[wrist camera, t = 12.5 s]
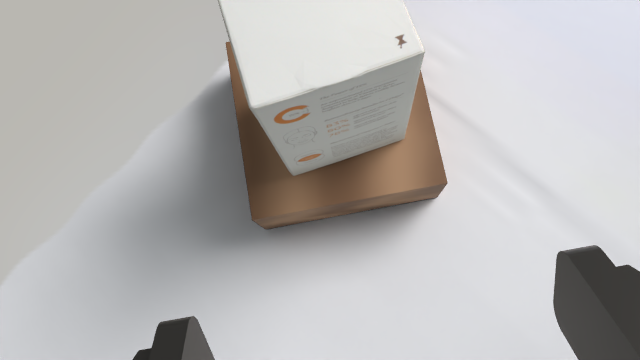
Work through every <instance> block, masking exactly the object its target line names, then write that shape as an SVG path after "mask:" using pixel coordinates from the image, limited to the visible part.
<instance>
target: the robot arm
mask: <svg viewBox="0 0 640 360" xmlns="http://www.w3.org/2000/svg"><path fill="white" fill-rule="evenodd" d="M553 304H554V311H555V315H556V319H557V322H558V324H559V327H560V329H561V331H562V332H563V334H564V336H565V337H566V339H567V341H568V343H569V344H570V346H571V348H572V349H573V351H574V353H575V355H576V356H577V358H578V360H640V272H639V271H638V270H636V269H635V268H633V267H631V266H630V265H624V266H618V267H616V266H615V265H614V264H613V263H612V261H611V260H610V259H609V258H608V257H607V255H606V254H605V253H604V252H603V250H602V249H601V248H600V247H598V246H596V245H593V246H588V247H582V248H576V249H571V250H565V251H560V252H559V253H558V255H557V259H556V273H555V286H554V299H553ZM133 360H215V359H214V357H213V354H212V352H211V350H210V347H209V345H208V343H207V341H206V338H205V336H204V334H203V331H202V329H201V327H200V324H199V322H198V320H197V319H196V318H195V317H194V316H192V317H186V318H181V319H175V320H169V321H164V322H160V323H159V325H158V327H157V329H156V333H155V337H154V341H153V345H152V348H150V349H145V350H139V351H138V352H137V354H136V355H135V357H134V358H133Z"/></svg>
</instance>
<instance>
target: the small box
mask: <svg viewBox="0 0 640 360" xmlns="http://www.w3.org/2000/svg"><path fill="white" fill-rule="evenodd" d="M218 2H219V6H220V9H221V13H222V16H223V20H224V23H225V26H226V29H227V33H228V37H229V40H230V44H231V47H232V51H233V54H234V58H235V61H236V65H237V68H238V72H239V75H240V78H241V82H242V85H243V89H244V92H245V96H246V99H247V102H248V106H249V108H250V110H251V111H252V112H253V114H254V115H255V117H256V118H257V120H258V121H259V123H260V125H261V126H262V128H263V129H264V131H265V133H266V134H267V136H268V138H269V139H270V141H271V142H272V144H273V146H274V147H275V149H276V151H277V152H278V154H279V156H280V157H281V159H282V161H283V162H284V164H285V165H286V167H287V169H288V170H289V172H290V173H291V174H292V175H293V176H296V175H299V174H302V173H305V172H308V171H311V170H314V169H317V168H320V167H323V166H326V165H329V164H332V163H335V162H338V161H341V160H344V159H347V158H350V157H353V156H356V155H359V154H362V153H365V152H368V151H371V150H374V149H377V148H380V147H383V146H386V145H388V144H391V143H394V142H397V141H400V140H403V139H404V138H405V133H406V129H407V125H408V121H409V117H410V113H411V108H412V104H413V99H414V95H415V91H416V86H417V82H418V78H419V74H420V70H421V65H422V61H423V57H424V53H425V50H424V48H423V46H422V43H421V41H420V39H419V37H418V34H417V32H416V30H415V27H414V25H413V23H412V20H411V18H410V16H409V13H408V11H407V9H406V6H405V4H404V2H403V0H218Z"/></svg>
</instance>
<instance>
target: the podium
mask: <svg viewBox="0 0 640 360" xmlns="http://www.w3.org/2000/svg"><path fill="white" fill-rule="evenodd" d="M226 48H227V55H228V62H229V69H230V75H231V82H232V89H233V95H234V102H235V109H236V115H237V122H238V129H239V136H240V142H241V149H242V156H243V162H244V169H245V176H246V182H247V189H248V196H249V202H250V209H251V216H252V220H253V221H254V222H256V223H257V224H259V225H260V226H261V227H263V228H264V229H271V228H276V227H282V226H287V225H292V224H298V223H303V222H308V221H313V220H319V219H324V218H329V217H335V216H340V215H345V214H351V213H356V212H361V211H366V210H372V209H377V208H382V207H388V206H393V205H398V204H404V203H409V202H414V201H419V200H425V199H430V198H435V197H438V195H439V194H440V193H441V191H442V190H443V189H444V187H445V186H446V184H447V179H446V174H445V170H444V166H443V162H442V158H441V153H440V149H439V145H438V141H437V137H436V132H435V128H434V124H433V120H432V116H431V111H430V107H429V103H428V99H427V95H426V90H425V86H424V82H423V78H422V74H421V70H420V74H419V78H418V82H417V86H416V91H415V95H414V99H413V104H412V108H411V113H410V117H409V121H408V125H407V129H406V133H405V138H404V139H403V140H400V141H397V142H394V143H391V144H388V145H386V146H383V147H380V148H377V149H374V150H371V151H368V152H365V153H362V154H359V155H356V156H353V157H350V158H347V159H344V160H341V161H338V162H335V163H332V164H329V165H326V166H323V167H320V168H317V169H314V170H311V171H308V172H305V173H302V174H299V175H296V176H293V175H292V174H291V173H290V172H289V170H288V169H287V167H286V165H285V164H284V162H283V161H282V159H281V157H280V156H279V154H278V152H277V151H276V149H275V147H274V146H273V144H272V142H271V141H270V139H269V138H268V136H267V134H266V133H265V131H264V129H263V128H262V126H261V125H260V123H259V121H258V120H257V118H256V117H255V115H254V114H253V112H252V111H251V110H250V108H249V106H248V102H247V99H246V96H245V92H244V89H243V85H242V82H241V78H240V75H239V72H238V68H237V65H236V61H235V58H234V54H233V51H232V47H231V44H230V42H226Z"/></svg>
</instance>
